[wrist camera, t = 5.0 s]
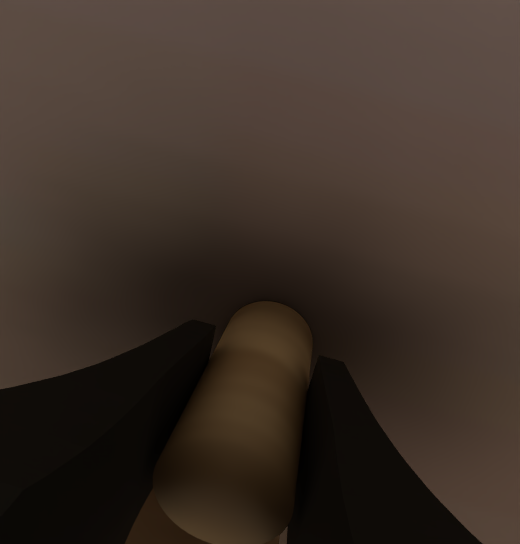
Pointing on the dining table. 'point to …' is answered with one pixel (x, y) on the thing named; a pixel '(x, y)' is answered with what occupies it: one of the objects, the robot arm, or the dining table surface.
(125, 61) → the dining table surface
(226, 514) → the tan rounded-end part
